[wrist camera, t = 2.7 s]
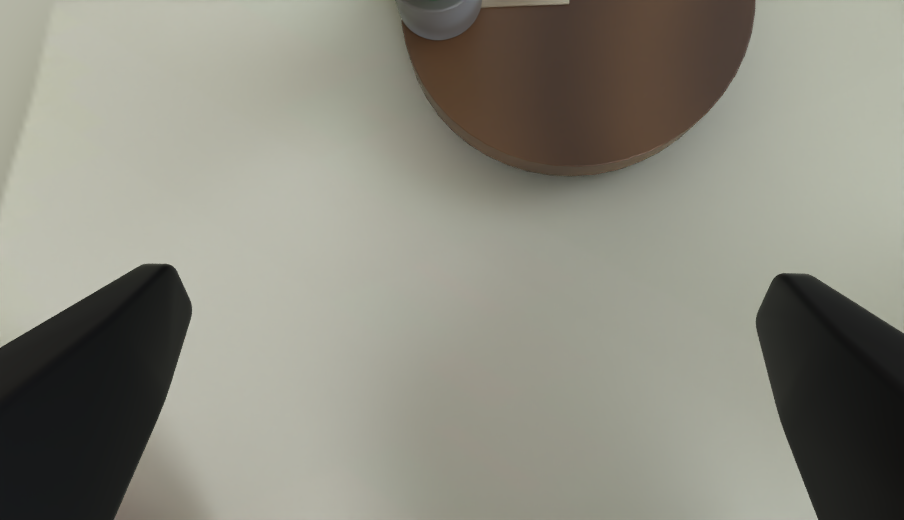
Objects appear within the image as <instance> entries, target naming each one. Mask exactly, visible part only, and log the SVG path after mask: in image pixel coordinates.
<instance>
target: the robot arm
mask: <svg viewBox="0 0 904 520" xmlns="http://www.w3.org/2000/svg"><path fill="white" fill-rule="evenodd" d="M191 315H192V305H191V301H190V299H189V297H188V294H187V292H186V290H185V288H184V286H183V283H182V281H181V279H180V277H179V275H178V273H177V271H176V269H175V268H174V267H173V266H172V265H169V264H143V265H141V266H139V267H137V268H135V269H134V270H132V271H130V272H128V273H127V274H125V275H123V276H122V277H120V278H118V279H117V280H115V281H113V282H111V283H110V284H108V285H106V286H105V287H103V288H101V289H100V290H98V291H96V292H94V293H93V294H91V295H89V296H88V297H86V298H84V299H82V300H81V301H79V302H77V303H76V304H74V305H72V306H71V307H69V308H67V309H65V310H64V311H62V312H60V313H59V314H57V315H55V316H54V317H52V318H50V319H48V320H47V321H45V322H43V323H42V324H40V325H38V326H36V327H35V328H33V329H31V330H30V331H28V332H26V333H25V334H23V335H21V336H19V337H18V338H16V339H14V340H13V341H11V342H9V343H8V344H6V345H4V346H2V347H1V348H0V520H114V518H115V515H116V513H117V511H118V509H119V506H120V504H121V502H122V499H123V497H124V495H125V493H126V490H127V488H128V486H129V483H130V481H131V479H132V477H133V474H134V472H135V470H136V467H137V465H138V463H139V460H140V458H141V456H142V454H143V451H144V449H145V447H146V444H147V442H148V440H149V438H150V435H151V433H152V431H153V428H154V426H155V424H156V421H157V419H158V417H159V414H160V412H161V409H162V407H163V405H164V402H165V399H166V396H167V393H168V390H169V388H170V384H171V381H172V378H173V375H174V371H175V368H176V365H177V362H178V358H179V355H180V352H181V349H182V346H183V342H184V339H185V336H186V333H187V329H188V326H189V323H190V320H191ZM756 329H757V333H758V337H759V341H760V345H761V349H762V353H763V357H764V360H765V364H766V368H767V372H768V376H769V380H770V384H771V388H772V392H773V395H774V399H775V403H776V407H777V410H778V414H779V417H780V421H781V424H782V426H783V429H784V432H785V435H786V438H787V440H788V443H789V445H790V448H791V450H792V453H793V456H794V458H795V461H796V463H797V466H798V469H799V471H800V474H801V476H802V479H803V481H804V484H805V487H806V489H807V492H808V494H809V497H810V500H811V502H812V505H813V507H814V510H815V512H816V515H817V518H818V520H904V333H902V332H900V331H899V330H897V329H896V328H894V327H893V326H891V325H889V324H888V323H886V322H885V321H883V320H881V319H880V318H878V317H877V316H875V315H874V314H872V313H870V312H869V311H867V310H866V309H864V308H862V307H861V306H859V305H858V304H856V303H855V302H853V301H851V300H850V299H848V298H847V297H845V296H844V295H842V294H840V293H839V292H837V291H836V290H834V289H832V288H831V287H829V286H828V285H826V284H825V283H823V282H821V281H820V280H818V279H817V278H815V277H813V276H811V275H809V274H796V273H782V274H779V275H777V276H776V277H775V278H774V279H773V280H772V282H771V284H770V286H769V289H768V291H767V293H766V295H765V297H764V299H763V302H762V304H761V306H760V308H759V310H758V313H757V317H756Z"/></svg>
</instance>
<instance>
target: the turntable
mask: <svg viewBox="0 0 904 520" xmlns="http://www.w3.org/2000/svg"><path fill="white" fill-rule="evenodd" d="M395 1H396V4H397V8H398V11H399V14H400V17H401V19H402V28H403V33H404V38H405V43H406V47H407V50H408V53H409V56H410V60H411V63H412V65H413V68H414V71H415V74H416V77H417V80H418V82H419V84H420V86H421V88H422V90H423V92H424V94H425V96H426V98H427V99H428V101H429V102H430V104H431V105H432V106H433V108H434V109H435V111H436V112H437V114H438V115H439V116H440V117H441V118H442V119H443V121H444V122H445V123H446V124H447V125H448V126H449V127H450V128H451V129H452V130H453V131H454V132H455V133H456V134H457V135H459V136H460V137H461V138H462V139H463V140H465V141H466V142H467V143H468V144H469V145H471V146H473V147H474V148H476V149H477V150H479V151H481V152H482V153H484V154H485V155H487V156H489V157H491V158H493V159H496V160H498V161H500V162H502V163H504V164H506V165H509V166H512V167H516V168H519V169H522V170H525V171H529V172H535V173H540V174H546V175H556V176H582V175H595V174H600V173H605V172H609V171H614V170H618V169H621V168H624V167H627V166H630V165H633V164H636V163H638V162H641V161H643V160H645V159H647V158H649V157H651V156H653V155H655V154H657V153H659V152H660V151H662V150H663V149H665V148H666V147H668V146H669V145H671V144H672V143H674V142H675V141H677V140H678V139H679V138H680V137H681V136H682V135H684V134H685V133H686V132H687V131H688V130H689V129H690V128H691V127H693V126H694V125H695V124H696V123H697V122H698V121H699V120H700V119H701V118H702V117H703V116H704V115H705V114H706V113H707V112H708V111H709V110H710V109H711V108H712V107H713V106H714V104H715V103H716V102H717V101H718V100H719V99H720V97H721V96H722V95H723V94H724V92H725V91H726V89H727V88H728V86H729V84H730V83H731V81H732V80H733V78H734V77H735V75H736V73H737V71H738V69H739V67H740V64H741V62H742V60H743V58H744V56H745V53H746V50H747V47H748V44H749V40H750V37H751V34H752V28H753V22H754V15H755V0H395Z"/></svg>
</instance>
